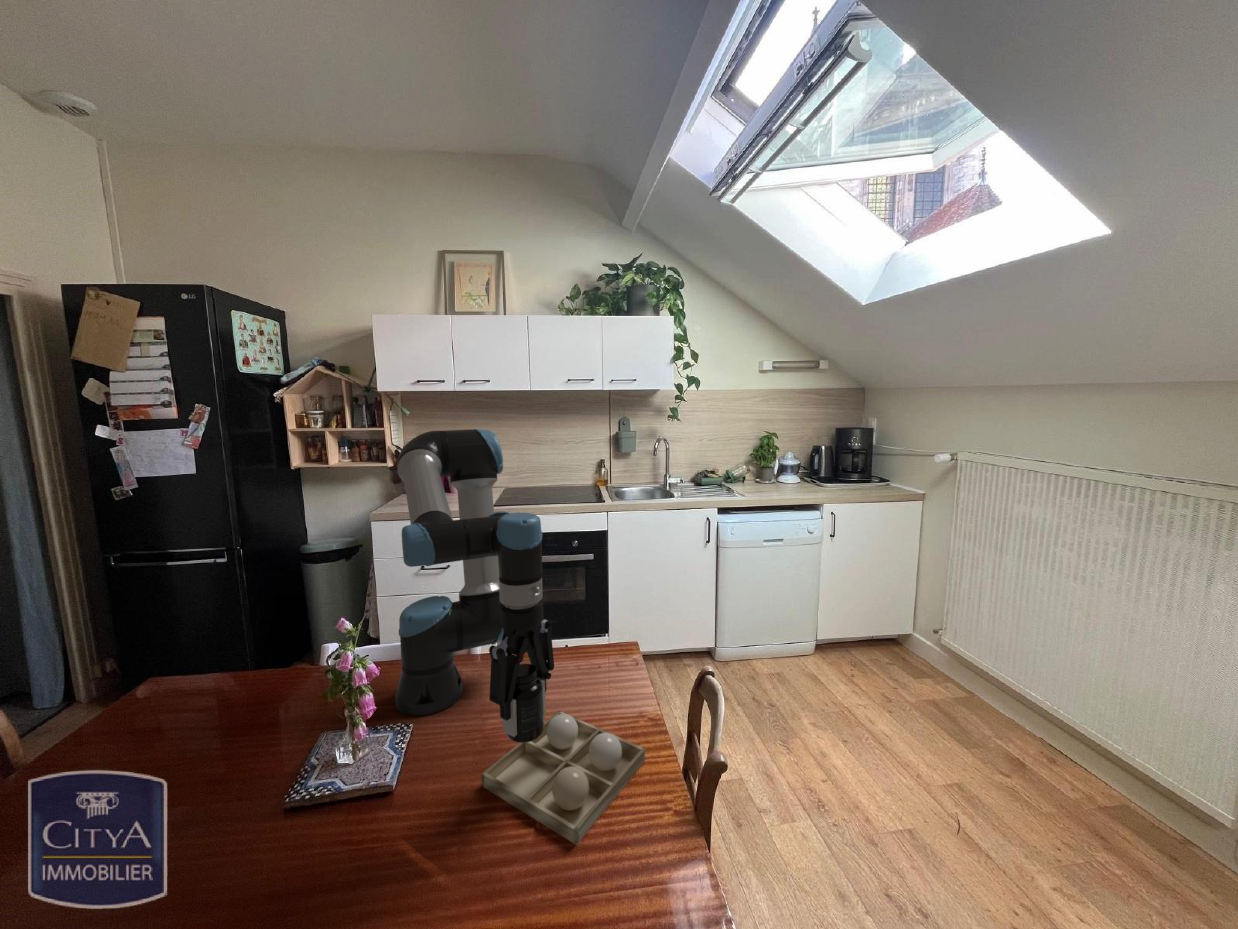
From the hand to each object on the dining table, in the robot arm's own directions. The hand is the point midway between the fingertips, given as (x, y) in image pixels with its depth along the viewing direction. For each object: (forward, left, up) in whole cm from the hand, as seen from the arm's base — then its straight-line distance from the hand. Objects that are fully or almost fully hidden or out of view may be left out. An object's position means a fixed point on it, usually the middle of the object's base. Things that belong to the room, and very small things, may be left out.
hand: (524, 721), depth 89 cm
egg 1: (0, +11, -12) cm, 16 cm away
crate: (+5, +5, -13) cm, 15 cm away
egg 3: (+10, +11, -12) cm, 19 cm away
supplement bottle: (0, 0, -2) cm, 2 cm away
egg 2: (+10, 0, -12) cm, 16 cm away
